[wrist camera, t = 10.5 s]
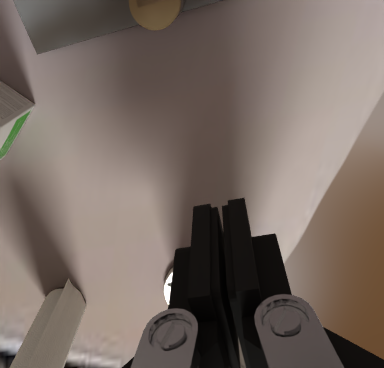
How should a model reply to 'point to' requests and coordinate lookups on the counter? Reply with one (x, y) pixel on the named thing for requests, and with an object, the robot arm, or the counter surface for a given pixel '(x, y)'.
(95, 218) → the counter surface
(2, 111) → the skincare box
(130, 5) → the bar
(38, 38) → the wooden gate latch
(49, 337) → the paper towel roll
